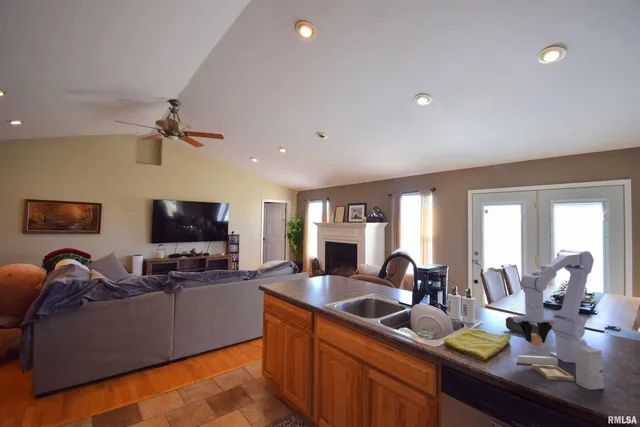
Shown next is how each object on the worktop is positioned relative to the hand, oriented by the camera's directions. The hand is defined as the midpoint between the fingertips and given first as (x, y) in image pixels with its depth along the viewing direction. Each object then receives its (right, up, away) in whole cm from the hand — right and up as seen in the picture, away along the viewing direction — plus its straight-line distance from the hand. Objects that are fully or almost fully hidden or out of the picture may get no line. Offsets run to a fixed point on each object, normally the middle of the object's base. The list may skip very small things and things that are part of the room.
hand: (535, 341), depth 111 cm
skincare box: (+6, -8, -16) cm, 19 cm away
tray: (0, -8, -8) cm, 11 cm away
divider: (+1, -8, 0) cm, 8 cm away
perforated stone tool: (+18, -11, +31) cm, 38 cm away
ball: (0, -2, 0) cm, 2 cm away
